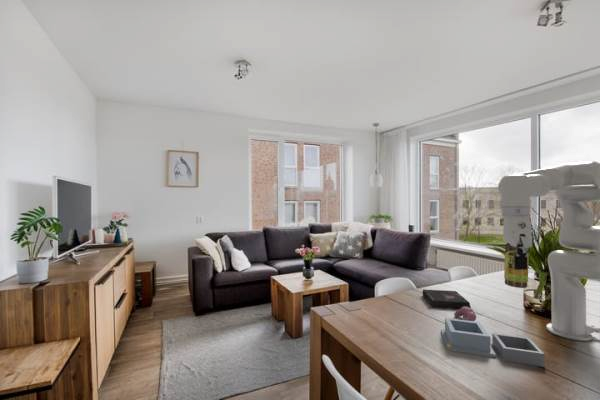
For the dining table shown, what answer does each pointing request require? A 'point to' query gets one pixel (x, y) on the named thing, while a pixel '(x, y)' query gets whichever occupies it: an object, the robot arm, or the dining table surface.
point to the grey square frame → (518, 349)
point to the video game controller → (466, 314)
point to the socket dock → (467, 337)
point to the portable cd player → (445, 299)
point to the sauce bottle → (511, 274)
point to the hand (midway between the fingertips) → (516, 266)
